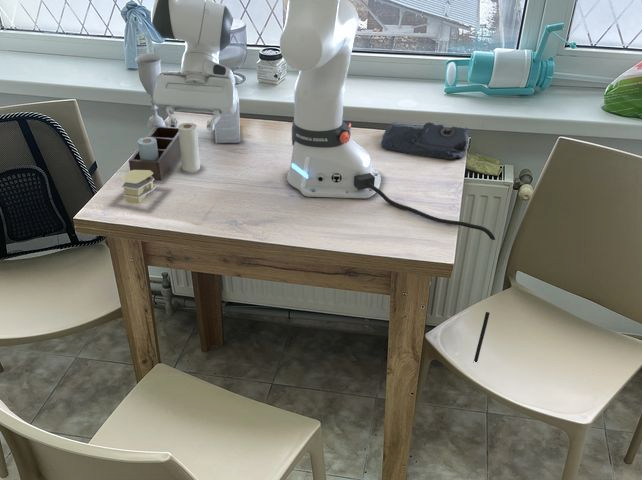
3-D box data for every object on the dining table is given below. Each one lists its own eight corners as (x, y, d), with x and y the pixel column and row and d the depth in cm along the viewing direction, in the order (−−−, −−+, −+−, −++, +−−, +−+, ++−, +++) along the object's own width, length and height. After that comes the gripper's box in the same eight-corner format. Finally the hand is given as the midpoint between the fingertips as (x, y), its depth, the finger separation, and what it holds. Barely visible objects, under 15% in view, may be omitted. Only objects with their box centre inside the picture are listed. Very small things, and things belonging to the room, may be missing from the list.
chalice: (163, 131, 193) (155, 63, 181) (140, 129, 194) (130, 62, 182) (172, 121, 198) (165, 54, 187) (149, 119, 199) (140, 53, 188)
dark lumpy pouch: (390, 127, 196) (392, 110, 193) (470, 138, 190) (473, 121, 187) (376, 149, 185) (378, 131, 182) (461, 162, 179) (464, 144, 176)
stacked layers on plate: (148, 210, 159) (145, 188, 156) (112, 205, 161) (108, 182, 158) (167, 190, 167) (164, 169, 163) (132, 185, 169) (129, 164, 165)
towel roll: (202, 166, 176) (199, 123, 169) (196, 174, 173) (192, 130, 166) (186, 164, 177) (182, 121, 170) (179, 172, 174) (175, 128, 167)
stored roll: (163, 169, 174) (159, 137, 169) (156, 177, 171) (152, 145, 165) (146, 167, 175) (142, 135, 170) (139, 175, 172) (134, 143, 166)
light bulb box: (214, 127, 195) (211, 88, 188) (239, 126, 196) (237, 87, 189) (215, 144, 187) (212, 103, 180) (241, 143, 187) (239, 102, 181)
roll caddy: (185, 146, 186) (184, 127, 182) (161, 182, 170) (159, 162, 166) (158, 144, 187) (156, 125, 183) (131, 180, 171) (128, 160, 167)
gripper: (154, 64, 171) (145, 119, 170) (236, 69, 168) (229, 125, 167) (161, 76, 177) (153, 129, 176) (241, 82, 175) (234, 136, 173)
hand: (191, 128), depth 172 cm, fingers open, 8 cm apart
